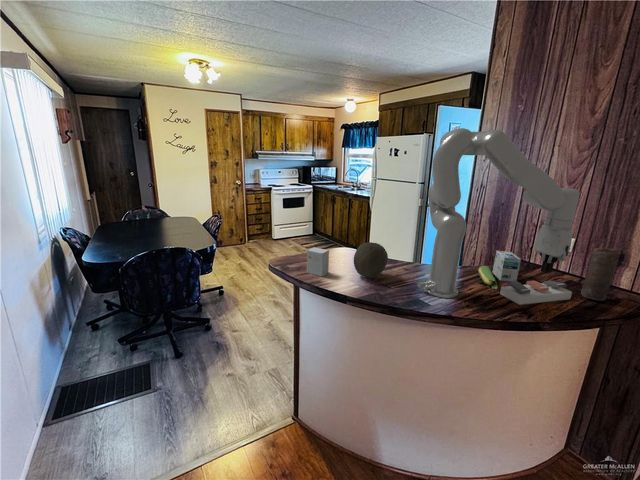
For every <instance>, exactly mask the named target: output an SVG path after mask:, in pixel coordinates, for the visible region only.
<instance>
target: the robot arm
mask: <svg viewBox="0 0 640 480" xmlns="http://www.w3.org/2000/svg"><path fill="white" fill-rule="evenodd" d="M463 156H485V157H486V158H487V160H488V161H490V163H491V164H492V165H493V166H494V167H495V168H496V169H497V171H499V173H500V174H501V175H502V176H503V177H504V178H505V179H507V180H508V181H510V182H512V183H514V184H516V185H518V186H520V187H522V188H523V189H524V190H525V192H524V194H523V201H524V203H526V204H527V206H530V207H532V208H535V209H539V210H542V211H546V212H547V215H546V217H543V221H544V222H545V223H544V224H542V225H541V226H540V228H539V231H538V233H537V235H536V239H535V241H534V244H533V250H535V253H536V254H538V255H540V258H541V261H542V263H541V267H540V272H541V273H544V274H548V273H549V274H550V273H552V271H553V269H554V268H553V267H554V264H555V263H558V262H565V261H566V260H567V257H568V256H569V254H570V251H571V245H572V240H573V229H572V225H573V222H574V217H575V214H576V211H577V207H578V204H579V199H580V194H581V192H580V191H579V190H578V189H576V188H570V187H569V188H568V187H567V188H566V187H561V186H559V185H558V183H557V182H556V181H555V180H554V179H553V178H552V177H551V176H550V175H549V174H548V173H546V172H545V170H543V169H541V168H540V167H538V166H537V165H536V164H535V163H533V161H530V160H529V159H528V158H527V157H526V156H525V155H524V153H522V151H521V150H520V149H519V147H518V146H517V145H516V144H515V143H514V142H513V141H512V139H511V138H510V137H509V136H508V135H507V134H506V133H505V132H504V131H502V130H500V129H491V130H490V129H488V130H485V131H471V130H470V129H469V128H468V129H467V128H464V127H463V128H462V127H460V128H456V129H452V130H448V131H447V132H445V133H444V134H443V135H442V137H440V141H439V146H438V147H437V150H436V151H435V154H434V156H433V159H432V181H433V183H432V184H431V186H430V187H429V189H428V193H427V194H428V195H427V198H428V206H429V215H430V220H431V224H432V226H433V228H435V230H436V235H435V239H434V242H433V249H432V255H431V256H432V257H431V264H430V268H429V269H430V270H429V277H428V278H426V280H425V281H419V282H417V285H416V286H417V287H418V288H423V290H424V291H425V293H427V294H429V295H432V296H434V297H437V298H443V299H451V298H452V299H453V298H456V297H458V295H459V290H458V288H456V283H457V282H456V281H457V276H458V269H459V262H460V256H461V250H462V245H463V241H464V237H465V235H466V233H467V232H466V231H467V222H466V219H465V218H464V216H463V215H462V214H461V213H459V212H458V211H456V206H457V205H459V203H460V201H461V199H462V198H461V197H462V193H461V192H462V191H461V185H460V184H461V183H460V177H459V175H460V173H459V171H460V170H459V167H460V166H459V164H460V161H461V159H462V157H463Z"/></svg>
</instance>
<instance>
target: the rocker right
mask: <svg viewBox="0 0 640 480" xmlns="http://www.w3.org/2000/svg"><path fill="white" fill-rule="evenodd" d="M542 283H543V284H545V285H549V286H553V287H557V288H561V287H562V288H567V286H568V285H567V284H566V283H562V282H558V281H553V280H547V281H546V280H545V281H543V282H542Z"/></svg>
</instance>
